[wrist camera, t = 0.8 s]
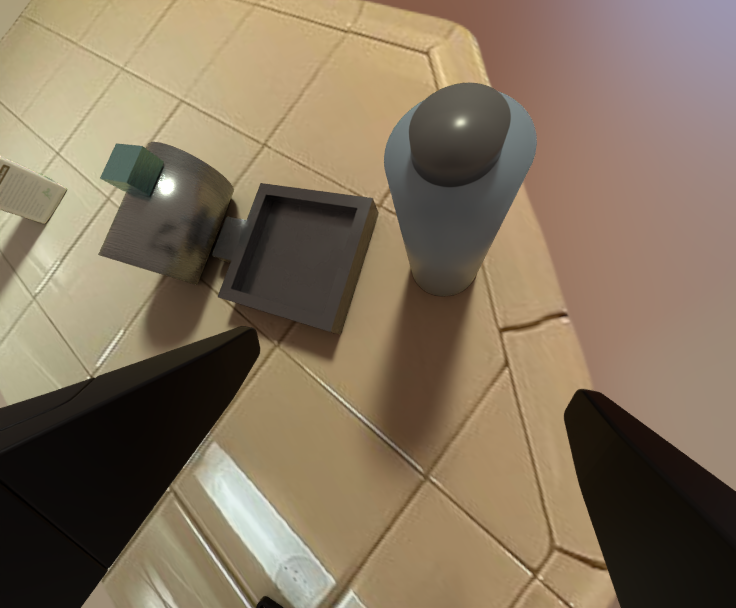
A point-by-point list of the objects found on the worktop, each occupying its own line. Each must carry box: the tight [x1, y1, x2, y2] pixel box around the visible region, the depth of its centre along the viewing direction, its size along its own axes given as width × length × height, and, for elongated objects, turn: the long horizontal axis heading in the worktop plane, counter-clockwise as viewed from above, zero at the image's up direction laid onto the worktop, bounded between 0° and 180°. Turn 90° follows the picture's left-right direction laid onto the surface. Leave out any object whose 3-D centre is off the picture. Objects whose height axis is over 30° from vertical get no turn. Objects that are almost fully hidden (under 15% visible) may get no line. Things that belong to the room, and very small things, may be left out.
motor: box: [98, 142, 378, 334], centre depth 21 cm, size 11×21×8 cm, turn 72°
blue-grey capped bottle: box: [384, 83, 537, 296], centre depth 14 cm, size 5×5×13 cm
